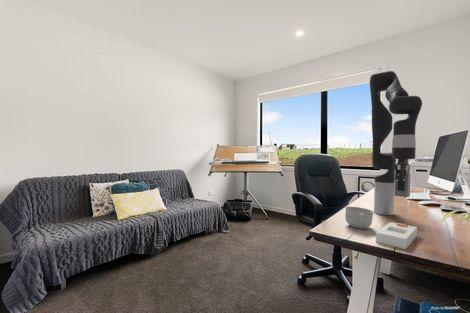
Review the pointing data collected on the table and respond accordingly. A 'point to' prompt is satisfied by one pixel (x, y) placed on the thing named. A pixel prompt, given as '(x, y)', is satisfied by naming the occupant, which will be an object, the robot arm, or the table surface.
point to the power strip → (396, 235)
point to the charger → (407, 187)
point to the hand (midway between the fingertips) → (402, 190)
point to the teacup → (359, 217)
